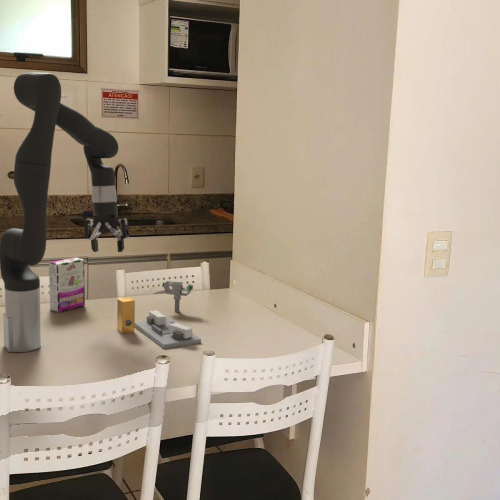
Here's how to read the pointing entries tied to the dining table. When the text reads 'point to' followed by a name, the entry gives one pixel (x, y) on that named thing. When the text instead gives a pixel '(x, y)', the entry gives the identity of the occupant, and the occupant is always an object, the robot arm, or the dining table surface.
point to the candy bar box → (66, 284)
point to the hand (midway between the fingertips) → (108, 251)
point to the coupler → (125, 315)
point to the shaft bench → (166, 331)
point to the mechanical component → (176, 291)
